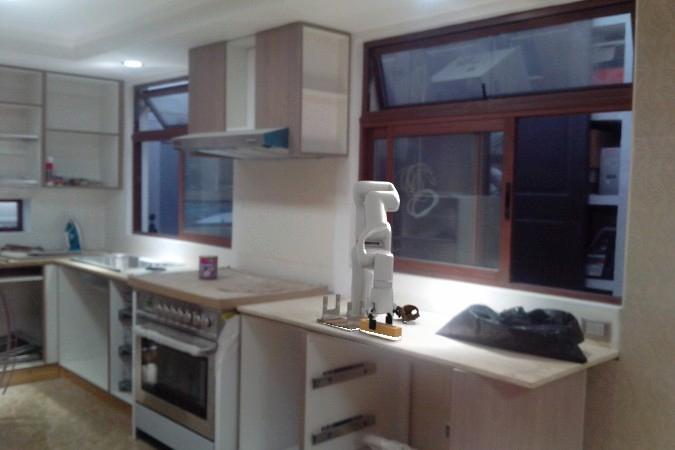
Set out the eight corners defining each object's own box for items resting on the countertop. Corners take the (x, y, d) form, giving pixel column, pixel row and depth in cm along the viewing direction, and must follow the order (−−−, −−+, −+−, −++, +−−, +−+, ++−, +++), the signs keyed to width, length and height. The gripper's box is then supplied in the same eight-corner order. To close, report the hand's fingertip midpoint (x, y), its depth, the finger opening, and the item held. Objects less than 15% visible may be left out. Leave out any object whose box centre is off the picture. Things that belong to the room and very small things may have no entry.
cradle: (316, 321, 268) (317, 295, 267) (334, 318, 275) (336, 292, 274) (350, 331, 253) (352, 304, 253) (369, 328, 261) (370, 301, 260)
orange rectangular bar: (359, 332, 255) (360, 319, 254) (365, 330, 258) (366, 318, 257) (394, 342, 242) (395, 328, 242) (401, 340, 245) (401, 327, 245)
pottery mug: (420, 321, 281) (423, 307, 277) (412, 334, 274) (415, 320, 269) (396, 310, 285) (398, 297, 281) (387, 323, 278) (389, 309, 274)
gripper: (389, 281, 257) (387, 323, 258) (360, 284, 245) (358, 328, 246) (404, 284, 252) (402, 327, 253) (375, 287, 239) (373, 332, 240)
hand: (380, 327), depth 249 cm, fingers open, 9 cm apart
